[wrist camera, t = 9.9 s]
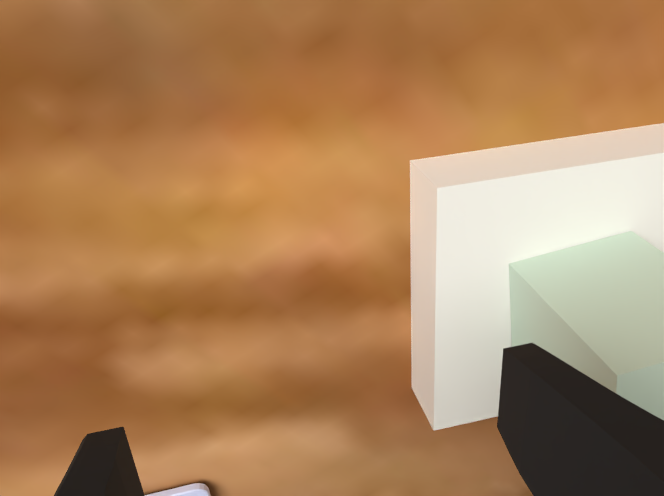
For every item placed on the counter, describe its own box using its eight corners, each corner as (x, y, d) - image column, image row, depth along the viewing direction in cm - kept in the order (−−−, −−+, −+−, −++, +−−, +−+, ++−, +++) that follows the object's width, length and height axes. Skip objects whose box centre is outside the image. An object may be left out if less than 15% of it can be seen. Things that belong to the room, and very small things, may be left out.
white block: (620, 336, 28) (666, 378, 26) (407, 380, 27) (433, 430, 24) (662, 118, 23) (723, 143, 21) (405, 155, 22) (437, 188, 19)
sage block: (623, 335, 24) (749, 451, 19) (512, 366, 23) (608, 495, 18) (631, 231, 22) (775, 328, 16) (508, 263, 21) (617, 375, 16)
